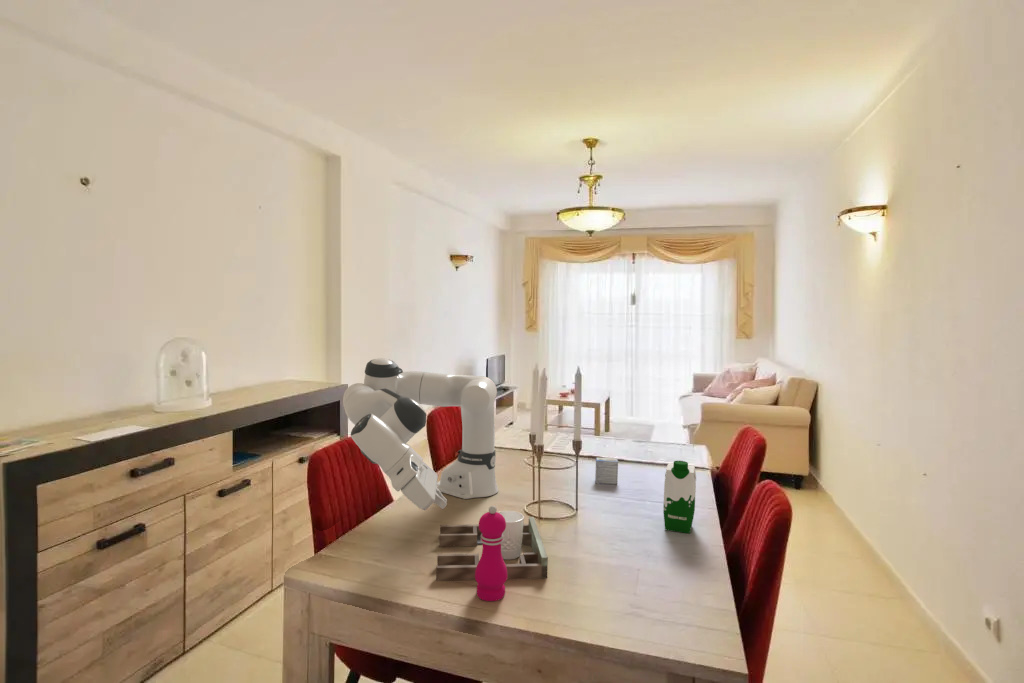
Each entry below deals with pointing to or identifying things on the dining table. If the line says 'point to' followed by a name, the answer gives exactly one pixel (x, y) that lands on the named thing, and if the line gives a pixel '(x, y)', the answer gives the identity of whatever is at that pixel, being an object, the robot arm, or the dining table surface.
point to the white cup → (512, 534)
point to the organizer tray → (467, 563)
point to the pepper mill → (491, 557)
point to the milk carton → (679, 496)
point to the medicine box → (606, 470)
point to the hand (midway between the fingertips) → (445, 505)
